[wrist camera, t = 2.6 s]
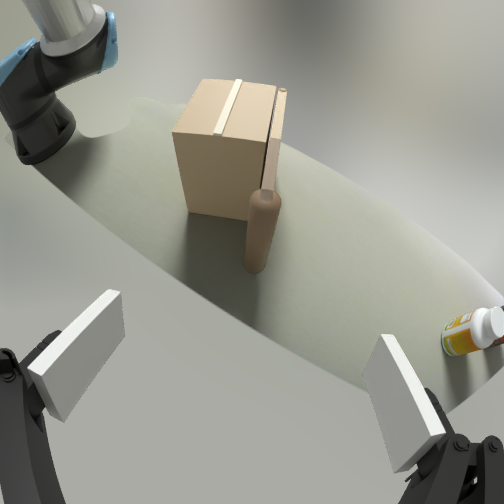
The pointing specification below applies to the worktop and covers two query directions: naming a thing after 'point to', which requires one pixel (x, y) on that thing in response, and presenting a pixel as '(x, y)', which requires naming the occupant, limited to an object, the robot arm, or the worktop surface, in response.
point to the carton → (224, 145)
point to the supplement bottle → (473, 331)
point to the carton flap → (265, 199)
